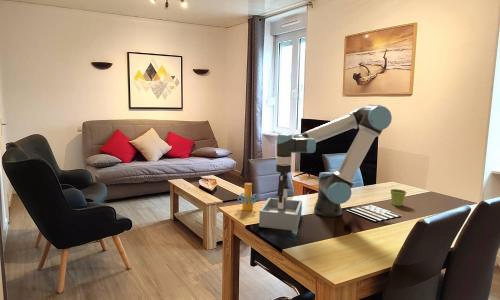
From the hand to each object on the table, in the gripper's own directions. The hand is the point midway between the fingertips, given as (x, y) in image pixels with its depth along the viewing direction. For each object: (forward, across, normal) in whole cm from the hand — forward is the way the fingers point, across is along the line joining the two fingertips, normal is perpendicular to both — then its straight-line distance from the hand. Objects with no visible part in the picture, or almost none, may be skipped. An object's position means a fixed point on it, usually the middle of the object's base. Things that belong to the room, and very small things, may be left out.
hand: (282, 204), depth 188 cm
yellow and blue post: (+9, -12, -21) cm, 26 cm away
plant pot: (+10, -50, +64) cm, 81 cm away
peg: (+9, 0, 0) cm, 9 cm away
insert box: (+9, 0, 0) cm, 9 cm away
